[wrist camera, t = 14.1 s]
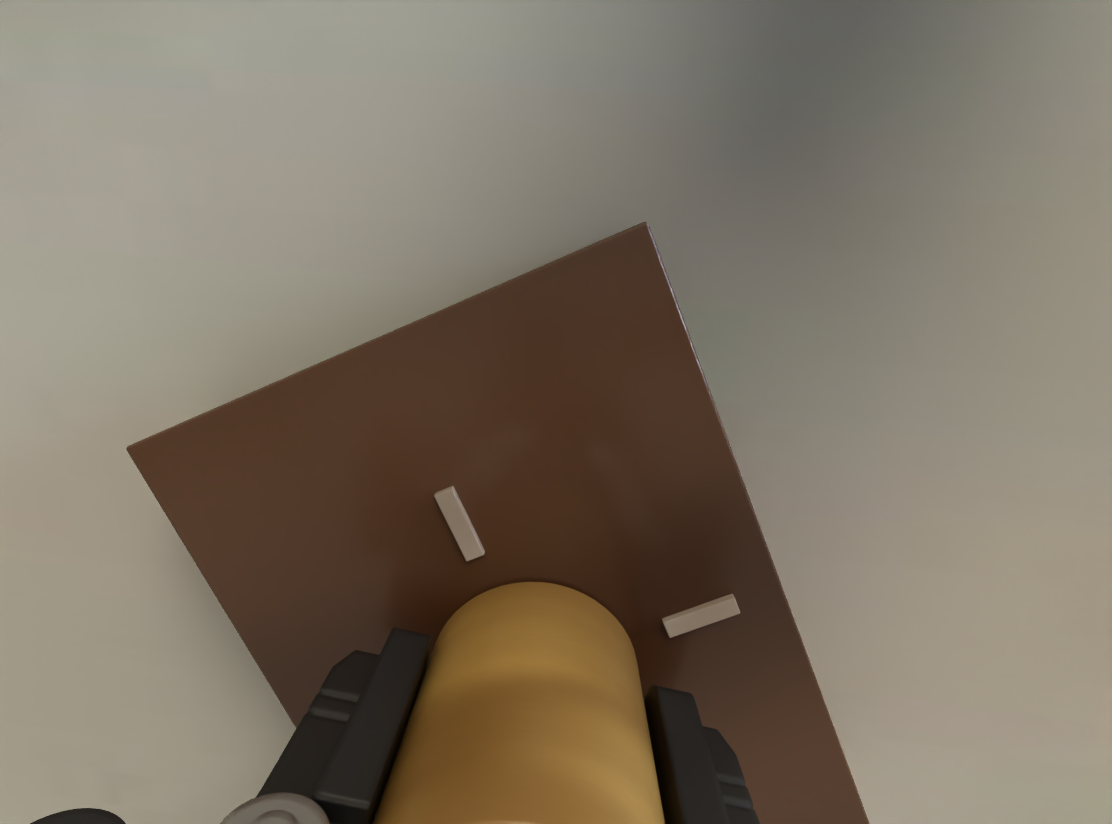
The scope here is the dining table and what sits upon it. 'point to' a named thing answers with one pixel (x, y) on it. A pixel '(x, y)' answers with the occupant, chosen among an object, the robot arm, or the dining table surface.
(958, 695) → the dining table surface
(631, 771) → the dial
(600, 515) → the dial panel
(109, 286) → the dining table surface
